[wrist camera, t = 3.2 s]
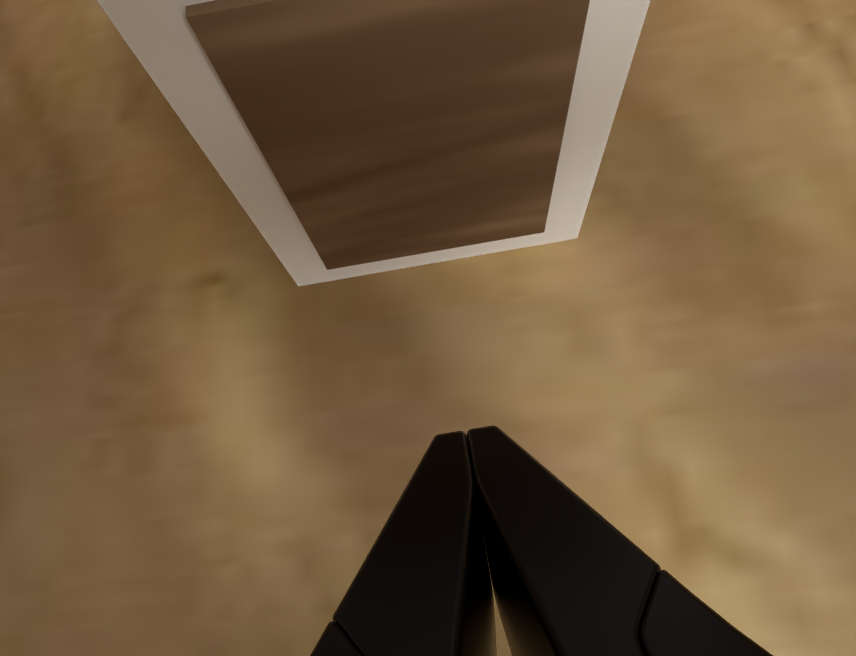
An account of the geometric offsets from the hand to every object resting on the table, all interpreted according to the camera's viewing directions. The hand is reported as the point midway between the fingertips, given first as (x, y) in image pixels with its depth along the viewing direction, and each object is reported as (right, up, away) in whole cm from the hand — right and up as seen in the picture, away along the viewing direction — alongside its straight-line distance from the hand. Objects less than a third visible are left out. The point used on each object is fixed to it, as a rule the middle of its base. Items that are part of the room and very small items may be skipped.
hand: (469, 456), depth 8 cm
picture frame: (-1, +7, +16) cm, 17 cm away
